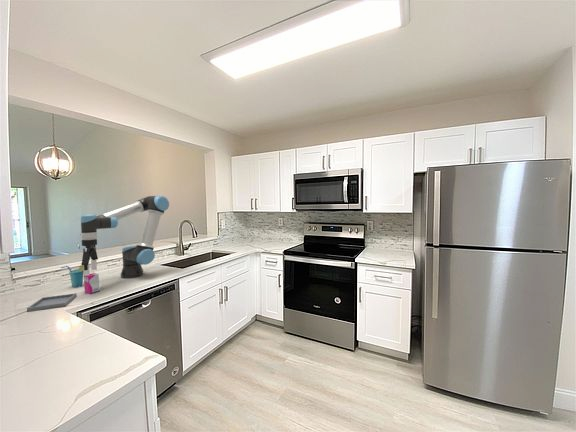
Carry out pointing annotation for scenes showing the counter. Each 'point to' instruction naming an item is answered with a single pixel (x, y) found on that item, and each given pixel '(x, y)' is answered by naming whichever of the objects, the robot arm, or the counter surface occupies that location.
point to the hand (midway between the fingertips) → (90, 272)
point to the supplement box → (91, 283)
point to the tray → (52, 302)
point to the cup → (76, 276)
